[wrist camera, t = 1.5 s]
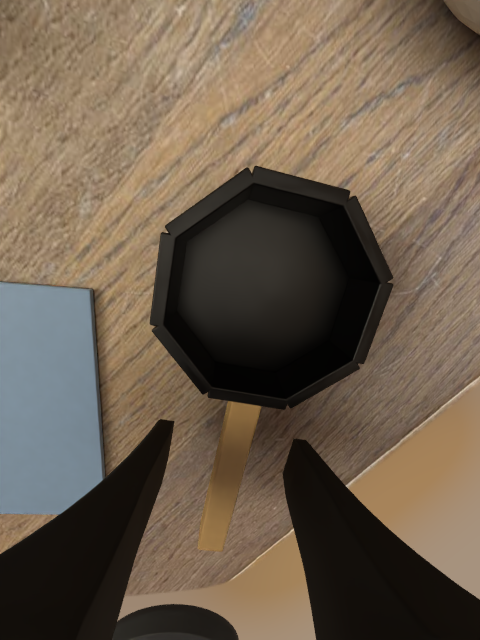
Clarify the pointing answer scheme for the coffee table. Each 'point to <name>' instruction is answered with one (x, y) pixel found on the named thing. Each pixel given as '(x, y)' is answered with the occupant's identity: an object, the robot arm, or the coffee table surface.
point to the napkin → (48, 398)
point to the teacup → (466, 12)
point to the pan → (265, 306)
